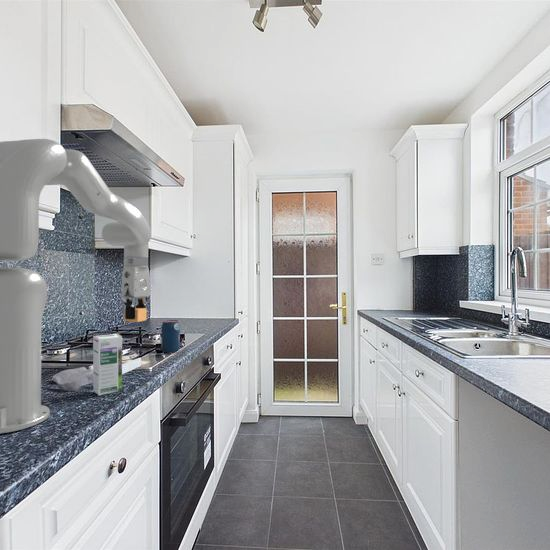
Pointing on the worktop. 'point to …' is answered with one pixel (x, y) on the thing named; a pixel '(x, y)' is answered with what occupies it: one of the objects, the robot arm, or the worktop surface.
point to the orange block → (137, 315)
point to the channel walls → (128, 365)
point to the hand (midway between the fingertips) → (135, 317)
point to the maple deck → (141, 362)
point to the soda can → (170, 336)
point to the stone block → (74, 379)
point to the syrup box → (107, 363)
